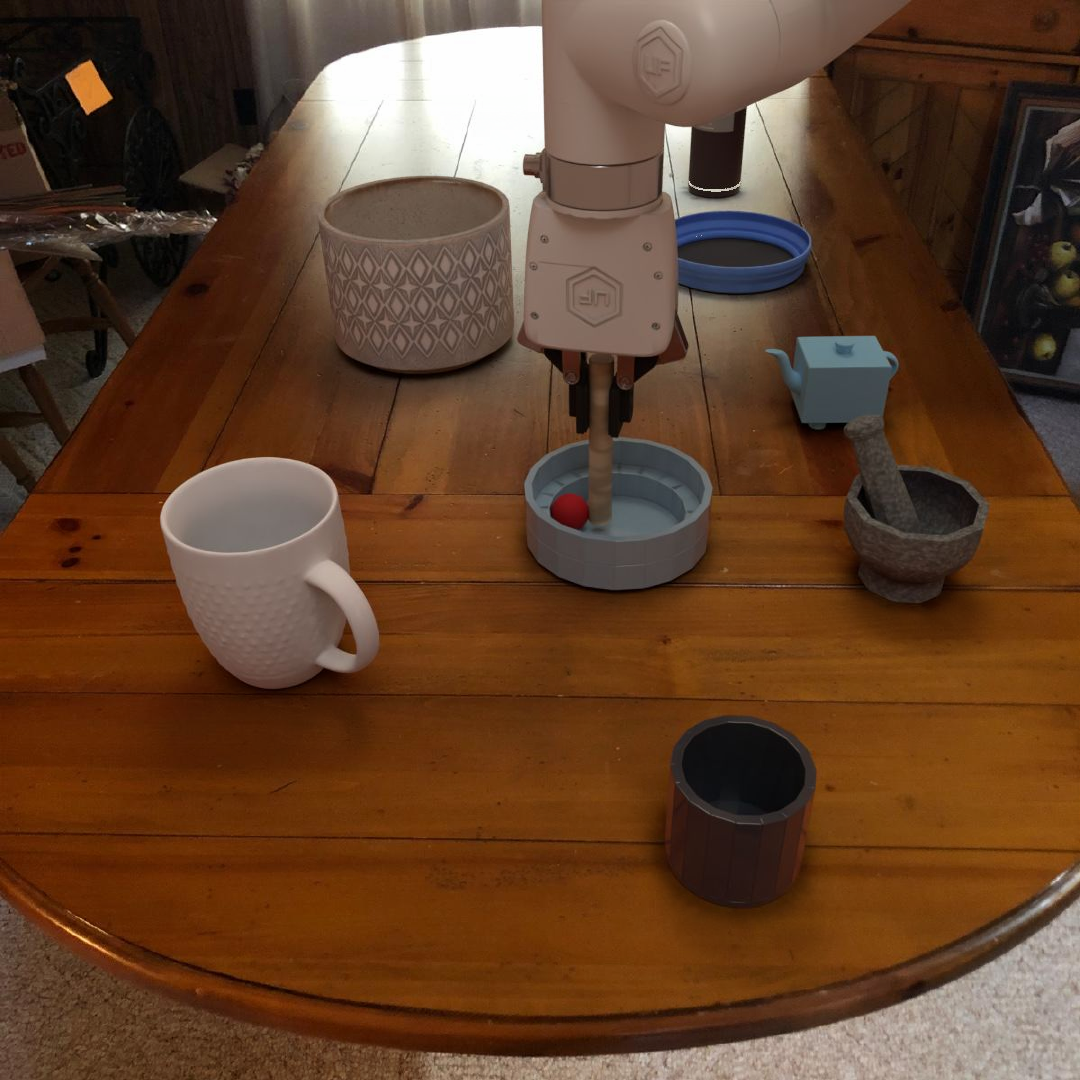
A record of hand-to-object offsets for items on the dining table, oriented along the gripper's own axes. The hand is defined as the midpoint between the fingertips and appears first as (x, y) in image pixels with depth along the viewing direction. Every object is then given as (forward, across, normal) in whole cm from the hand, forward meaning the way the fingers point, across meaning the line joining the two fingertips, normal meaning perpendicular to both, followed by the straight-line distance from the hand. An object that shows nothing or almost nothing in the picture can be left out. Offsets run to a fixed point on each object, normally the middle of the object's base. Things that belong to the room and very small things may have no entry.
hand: (601, 425), depth 81 cm
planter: (+10, -25, +30) cm, 40 cm away
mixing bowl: (+10, +1, 0) cm, 10 cm away
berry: (+8, -2, 0) cm, 8 cm away
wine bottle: (+10, -1, +82) cm, 83 cm away
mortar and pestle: (+10, +22, 0) cm, 25 cm away
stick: (+9, 0, 0) cm, 9 cm away
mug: (+10, -18, -19) cm, 28 cm away
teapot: (+10, +16, +23) cm, 30 cm away
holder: (+10, +13, -28) cm, 33 cm away
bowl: (+10, +4, +56) cm, 57 cm away
